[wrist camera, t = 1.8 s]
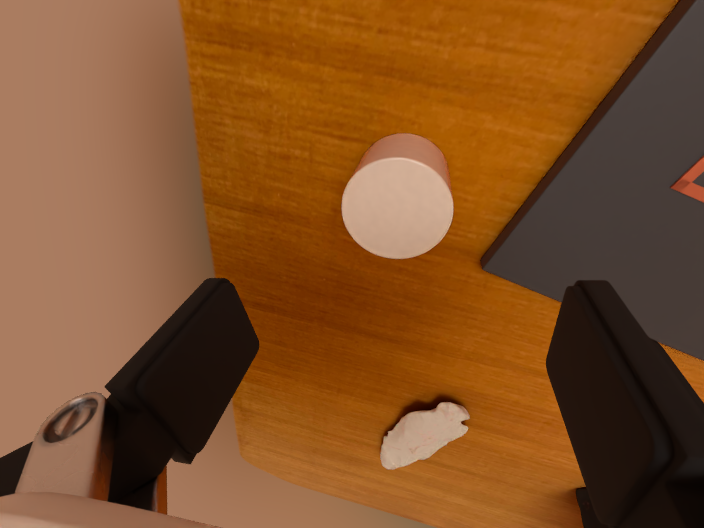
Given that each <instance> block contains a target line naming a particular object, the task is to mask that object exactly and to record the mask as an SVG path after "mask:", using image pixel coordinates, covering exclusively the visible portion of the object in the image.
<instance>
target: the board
mask: <svg viewBox="0 0 704 528" xmlns="http://www.w3.org/2000/svg"><path fill="white" fill-rule="evenodd" d="M480 262H481V266H482V269H483V270H484V271H487V272H489V273H492V274H494V275H496V276H499V277H501V278H504V279H506V280H509V281H511V282H513V283H516V284H518V285H521V286H523V287H526V288H528V289H531V290H533V291H535V292H538V293H540V294H543V295H545V296H548V297H550V298H552V299H555V300H557V301H560V302H562V300H563V297H564V293H565V290H566V288H567V287H568V286H574V284H575V282H576V281H578V280H606V281H608V282H609V283H610V284H611V285H612V287H613V288H614V289H615V291H616V292H617V294H618V295H619V296H620V298H621V299H622V301H623V302H624V303H625V305H626V306H627V308H628V309H629V310H630V312H631V313H632V315H633V316H634V317H635V319H636V320H637V322H638V323H639V324H640V326H641V327H642V329H643V330H644V331H645V333H646V334H647V336H648V337H649V338H652V339H653V340H655V341H657V342H659V343H662V344H664V345H667V346H669V347H672V348H674V349H676V350H679V351H681V352H684V353H686V354H689V355H691V356H693V357H696V358H698V359H701V360H703V361H704V0H681V1H680V2H679V3H678V4H677V6H676V7H675V8H674V10H673V11H672V12H671V14H670V15H669V16H668V17H667V19H666V20H665V21H664V23H663V24H662V25H661V27H660V28H659V29H658V30H657V32H656V33H655V34H654V36H653V37H652V38H651V40H650V41H649V42H648V43H647V45H646V46H645V47H644V49H643V50H642V51H641V52H640V54H639V55H638V56H637V58H636V59H635V60H634V62H633V63H632V64H631V65H630V67H629V68H628V69H627V71H626V72H625V73H624V75H623V76H622V77H621V78H620V80H619V81H618V82H617V84H616V85H615V86H614V88H613V89H612V90H611V91H610V93H609V94H608V95H607V97H606V98H605V99H604V100H603V102H602V103H601V104H600V106H599V107H598V108H597V110H596V111H595V112H594V113H593V115H592V116H591V117H590V119H589V120H588V121H587V123H586V124H585V125H584V126H583V128H582V129H581V130H580V132H579V133H578V134H577V136H576V137H575V138H574V139H573V141H572V142H571V143H570V145H569V146H568V147H567V148H566V150H565V151H564V152H563V154H562V155H561V156H560V158H559V159H558V160H557V161H556V163H555V164H554V165H553V167H552V168H551V169H550V171H549V172H548V173H547V174H546V176H545V177H544V178H543V180H542V181H541V182H540V184H539V185H538V186H537V187H536V189H535V190H534V191H533V193H532V194H531V195H530V196H529V198H528V199H527V200H526V202H525V203H524V204H523V206H522V207H521V208H520V209H519V211H518V212H517V213H516V215H515V216H514V217H513V219H512V220H511V221H510V222H509V224H508V225H507V226H506V228H505V229H504V230H503V232H502V233H501V234H500V235H499V237H498V238H497V239H496V241H495V242H494V243H493V244H492V246H491V247H490V248H489V250H488V251H487V252H486V254H485V255H484V256H483V257H482V259H481V260H480Z"/></svg>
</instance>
